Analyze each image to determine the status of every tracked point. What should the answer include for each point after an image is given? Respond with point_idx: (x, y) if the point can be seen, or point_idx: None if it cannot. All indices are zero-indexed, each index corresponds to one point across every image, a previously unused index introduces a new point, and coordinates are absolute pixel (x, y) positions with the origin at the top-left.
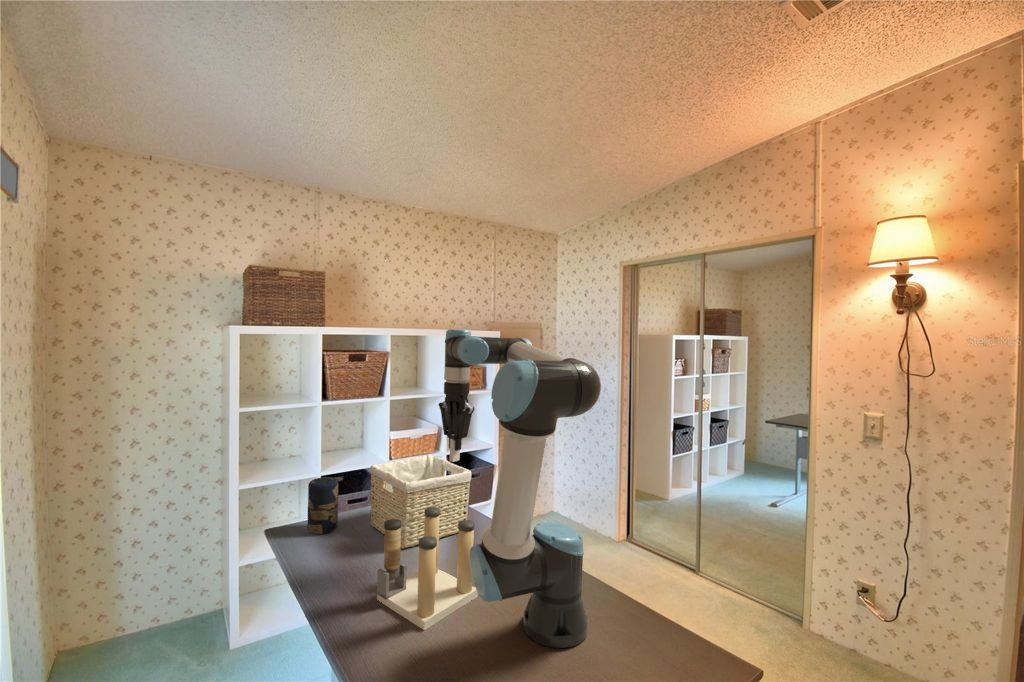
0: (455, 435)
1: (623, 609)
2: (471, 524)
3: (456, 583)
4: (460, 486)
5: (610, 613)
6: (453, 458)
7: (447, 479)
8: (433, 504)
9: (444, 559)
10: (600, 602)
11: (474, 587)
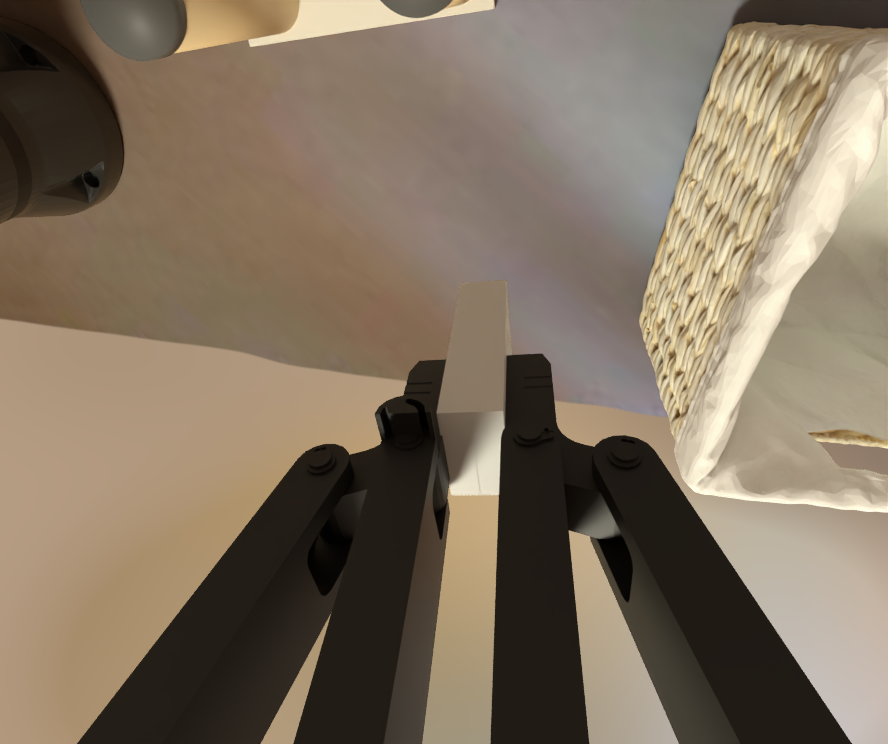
0: (405, 462)
1: (55, 304)
2: (102, 22)
3: (321, 3)
4: (688, 395)
5: (49, 271)
6: (458, 301)
7: (727, 353)
8: (728, 227)
9: (536, 120)
10: (96, 290)
11: (263, 42)
